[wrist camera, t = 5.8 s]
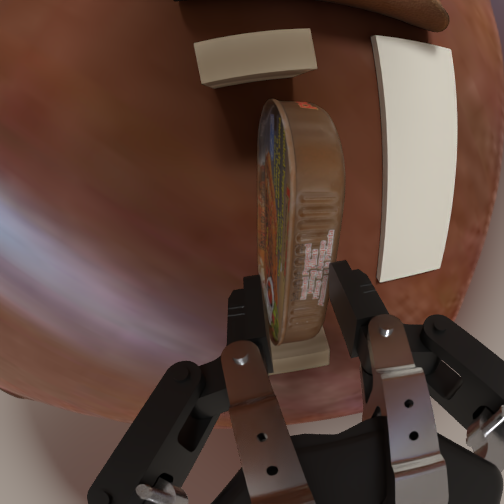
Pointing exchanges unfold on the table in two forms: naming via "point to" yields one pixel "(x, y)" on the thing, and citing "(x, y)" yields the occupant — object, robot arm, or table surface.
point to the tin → (297, 215)
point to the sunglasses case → (404, 11)
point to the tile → (415, 153)
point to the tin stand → (258, 69)
